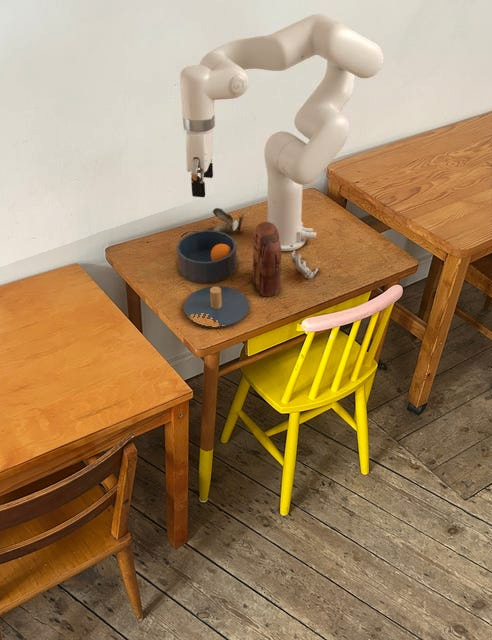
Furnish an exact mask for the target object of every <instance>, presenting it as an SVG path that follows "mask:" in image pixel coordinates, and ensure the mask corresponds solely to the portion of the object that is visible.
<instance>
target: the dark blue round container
mask: <svg viewBox="0 0 492 640" xmlns="http://www.w3.org/2000/svg"><path fill="white" fill-rule="evenodd" d="M218 244H226V245H228V246H229V247H230V248H231V250H232V252H231V253H230V254H229V255H228V256H226V257H224V258H222V259H219V260H217V261H212V259H211V251H212V249H213V247H214V246H216V245H218ZM176 253H177V255H176V256H177V265H178V269H179V273H180V274H181V275H182V276H183V277H184V278H185V279H187V280H189V281H191V282H194V283H200V284H212V283H218V282H221V281H223V280H226V279H227V278H230V277H231V276H232V275H233V274H234V273H235V271H236V269H237V263H238V262H237V259H238V258H237V244H236V242H235V239H234V238H233V237H231V236H230V235H229V234H228V233H222V232H219V231H212V230H211V229H210V230H209V229H205V230H197V231H193V232H191V233H187V234H186V235H184V236H183V237H182V238H180V239H179V241H178V243H177V246H176Z"/></svg>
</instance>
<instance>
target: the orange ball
mask: <svg viewBox="0 0 492 640" xmlns="http://www.w3.org/2000/svg"><path fill="white" fill-rule="evenodd" d="M231 252H232V250H231V248H230V247H229V246H228V245H226V244H218V245H216V246H214V247H213V249H212V251H211V259H212V261H217V260H219V259H222V258H224V257H226V256H228V255H229V254H230V253H231Z"/></svg>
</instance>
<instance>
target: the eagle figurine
mask: <svg viewBox="0 0 492 640" xmlns="http://www.w3.org/2000/svg"><path fill="white" fill-rule="evenodd" d="M212 213H213V215H214V216H215V217H217V218H218V219H219V220H221V222H224V224H221V225H217V226H214V227H212V228H211V229H210V230H212V231H219V232H222V233H225V234H228V233H229V232H230V230H231V229H232V230H233V231H236V230H237V232H238V233H239V234H241V229H242V224H243V219H244V215H245V213H244V212H243V213H242V214H241V216H239V217H238V219H235V220H234V218H233V217H232V215H230V214H228V213H226V211H224V210H223V209H222V208H219V207H215V208H214V209H213V210H212ZM225 223H226V224H225Z"/></svg>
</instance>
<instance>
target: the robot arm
mask: <svg viewBox="0 0 492 640" xmlns="http://www.w3.org/2000/svg"><path fill="white" fill-rule="evenodd" d="M314 56H319V57H320V58H322V59H324V60H326V70H325V74H324V76H323V78H322V80H321V82H320V83H319V84H318V86H317V87H316V88H315V90H313V92H312V93H311V95H310V96H309V97H308V98H307V99H306V101H305V102H304V103H303V104H302V106H301V107H299V109H298V111H297V112H296V114H295V117H294V120H293V122H294V123H293V124H294V127H295V129H296V130H297V132H299V134H301V135H302V136H304V137H305V138H306V139H308V142H307V143H306V142H305V141H304V140H302V139H301V138H299V137H298V136H296V135H294V133H291V132H288V131H284V130H283V131H282V130H281V131H276V132H275V133H272V134H271V135H270V136H269V137H268V139H267V141H266V143H265V146H264V162H265V163H264V164H265V169H266V177H267V216H266V217H267V219H266V220H267V221H266V222H270V223H272V224H274V225H275V226H276V228H277V230H278V232H279V241H280V245H281V252H291V251H294V250H295V251H296V250H298V249H300V248H302V247H303V246H304V245H305V244H306V240H307V239H310V240H316V239H317V232H316V231H314V227H305V226H304V221H302V211H303V210H302V209H303V191H304V186H305V185H309V184H312V182H314V181H315V180H316V179H317V178H319V177H320V175H321V174H322V173H323V172H324V171H325V169H327V167H328V166H329V165H330V163H331V162H332V161H333V160H334V158H335V157H336V156H337V155H338V154H339V153H340V151H341V150H342V149H343V147H345V144H346V143H347V141H348V138H349V135H350V130H351V129H350V123H349V121H348V119H347V117H346V116H345V115H343V114H342V110H343V109H344V108H345V106H346V105H347V103H348V102H349V101H350V99H351V97H352V95H353V93H354V89H355V88H354V87H355V77H357V78H360V79H370V78H372V77H374V76H376V75H377V74H378V73H379V71H380V70H381V68H382V66H383V63H384V53H383V50H382V48H381V46H380V45H379V44H377V43H375V42H374V41H372V40H371V39H368V38H367V37H365V36H363V35H362V34H360V33H358V32H356V31H355V30H353V29H351V28H350V27H348V26H346V24H343V23H342V22H339V21H337V20H335V19H333V18H331V17H329V16H327V15H325V14H321V13H316V14H311V15H308V16H307V17H305V18H302V19H300V20H298V21H296V22H294V23H292V24H290V25H287V26H285V27H284V28H282V29H279V30H276V31H275V32H273V33H270V34H267V35H258V36H252V37H246V38H240V39H236V40H232V41H229V42H226V43H223V44H222V45H221V46H218V47H216V48H214V49H212V50H210V51H209V52H207V53H206V54H205V55H204V56H203V57H202V59H201V60H200V62H199V64H197V65H196V64H193V65H189V66H188V65H187V66H186V67H184V68H183V69H182V70H181V71H180V72H179V85H180V87H179V88H180V101H181V111H182V112H181V113H182V127H183V130H184V132H186V134H185V160H186V163H185V164H186V171H187V172H188V173H190V175H191V176H190V182H191V194H192V195H191V196H192V197H195V198H205V197H206V183H205V181H204V179H205V178H207V179H212V178H213V177H214V167H213V165H214V164H213V156H214V141H213V139H214V138H213V131H214V130H215V129H216V116H215V115H216V114H215V113H216V112H215V100H217V101H218V100H219V101H220V100H232V99H233V100H234V99H237V98H239V97H241V96H243V95H244V94H245V93H246V92H247V90H248V89H249V85H250V78H249V75H248V73H247V71H246V70H265V71H272V72H283V71H286V70H288V69H290V68H292V67H294V66H296V65H298V64H300V63H302V62H304V61H306V60H308V59H311V58H312V57H314Z"/></svg>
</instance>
